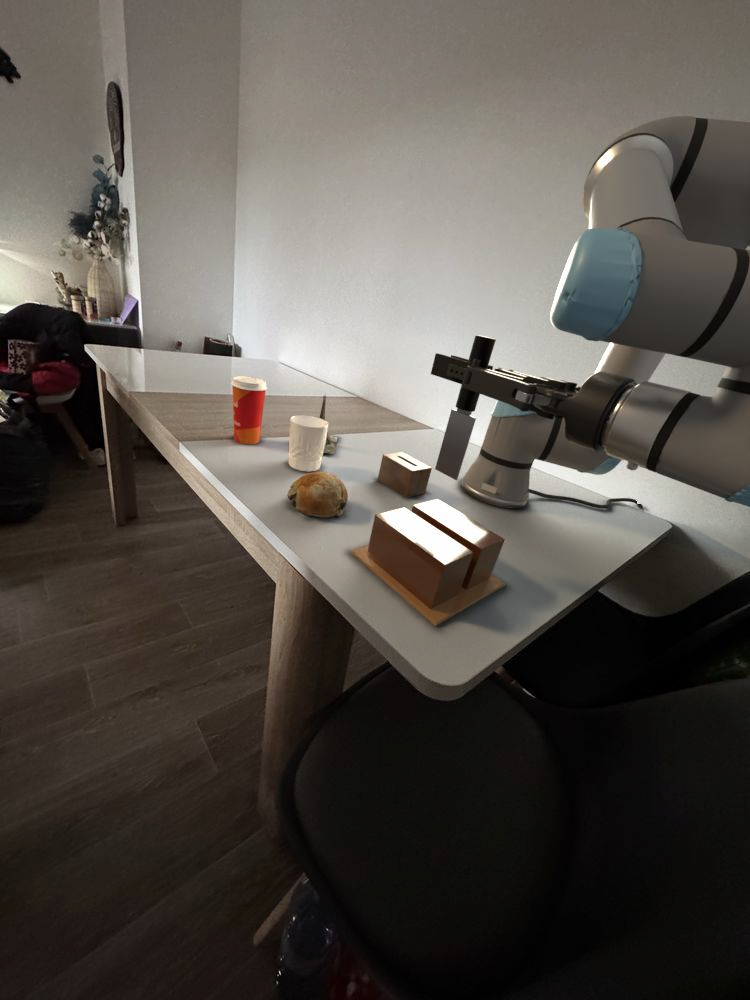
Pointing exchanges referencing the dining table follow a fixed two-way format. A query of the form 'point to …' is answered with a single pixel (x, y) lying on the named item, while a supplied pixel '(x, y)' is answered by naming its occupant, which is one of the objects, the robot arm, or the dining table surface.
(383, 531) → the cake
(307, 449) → the white cup
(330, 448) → the eiffel tower figurine
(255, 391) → the paper cup
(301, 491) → the bread roll
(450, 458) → the knife
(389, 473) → the knife block
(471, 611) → the dining table surface
